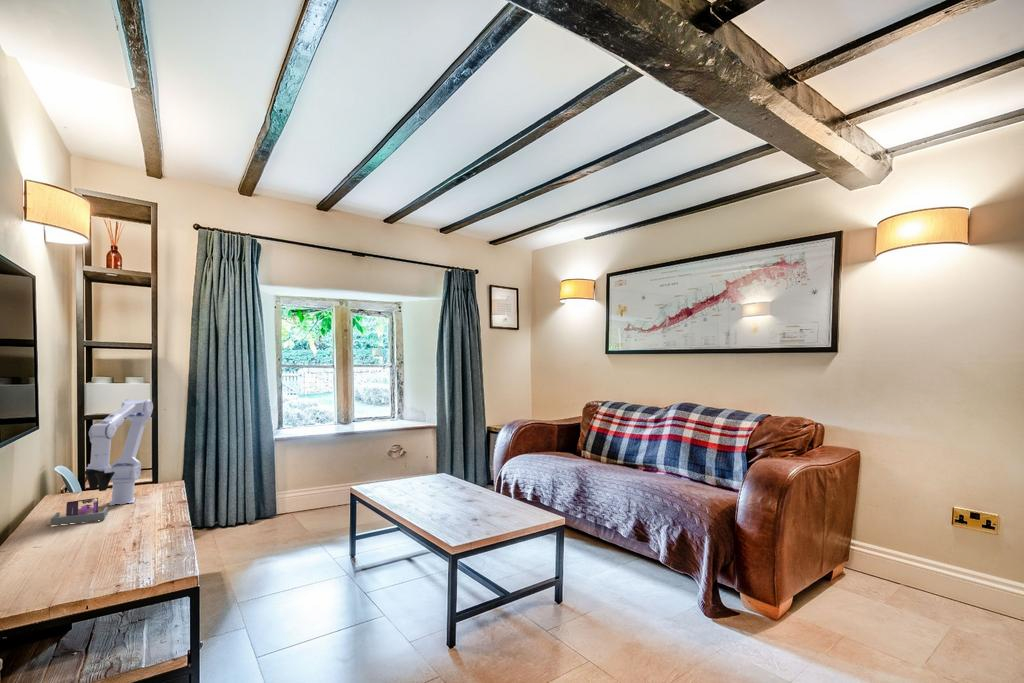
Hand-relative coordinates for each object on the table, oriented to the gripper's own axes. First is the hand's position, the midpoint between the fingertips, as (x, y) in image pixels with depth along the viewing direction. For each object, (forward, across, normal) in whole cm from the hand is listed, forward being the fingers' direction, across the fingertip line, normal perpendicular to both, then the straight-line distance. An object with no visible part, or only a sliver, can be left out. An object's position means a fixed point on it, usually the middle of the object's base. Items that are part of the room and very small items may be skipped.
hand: (98, 489), depth 184 cm
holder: (+10, +4, -6) cm, 12 cm away
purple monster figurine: (+10, -1, -4) cm, 11 cm away
